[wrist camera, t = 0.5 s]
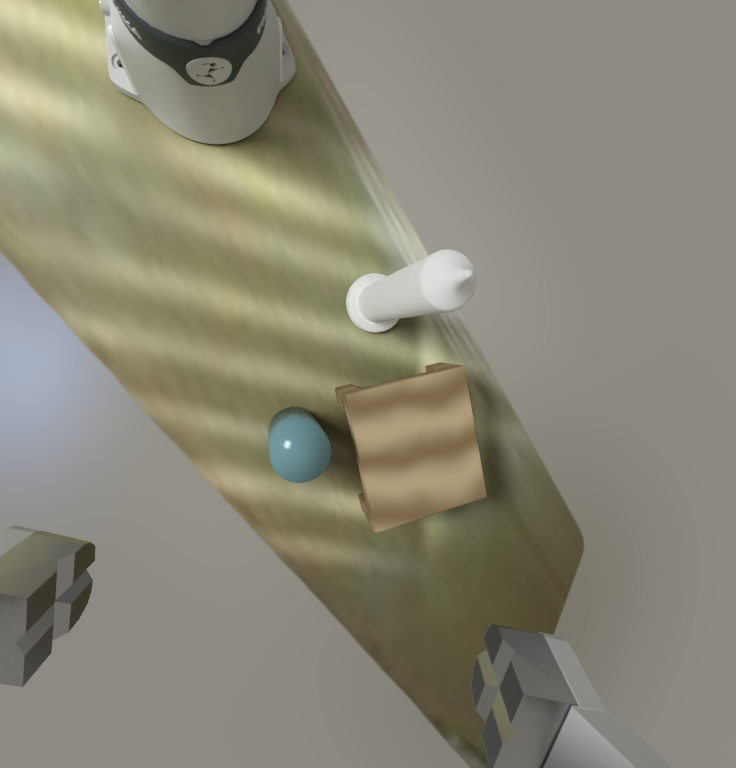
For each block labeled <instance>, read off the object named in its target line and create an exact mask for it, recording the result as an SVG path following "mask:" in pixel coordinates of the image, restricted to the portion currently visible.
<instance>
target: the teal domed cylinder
mask: <svg viewBox="0 0 736 768" xmlns="http://www.w3.org/2000/svg"><path fill="white" fill-rule="evenodd" d="M268 436H269V451H270V461H271V464H272V466H273V468H274V470H275V471H276V473H277V474H278V475H279V476H281V477H282V478H284V479H285V480H288V481H290V482H295V483H303V482H308V481H311V480H313V479H315V478H317V477H318V476H320V475H321V474H322V473H323V472H324V471H325V469H326V468H327V466H328V464H329V462H330V458H331V444H330V441H329V439H328V437H327V436H326V434H325V432H324V431H323V429H322V428H321V426H320V425H319V423H318V422H317V420H316V419H315V417H314V416H313V415H312V414H311V413H310V412H309V411H307V410H305V409H303V408H299V407H290V408H286V409H283V410H281V411H280V412H278V413H277V414H276V415H275V416H274V417H273V419H272V420H271V422H270V425H269V429H268Z"/></svg>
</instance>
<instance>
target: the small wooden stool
mask: <svg viewBox="0 0 736 768" xmlns="http://www.w3.org/2000/svg"><path fill="white" fill-rule="evenodd" d="M425 367H426V373H422V374H418V375H414V376H409V377H405V378H401V379H397V380H393V381H389V382H385V383H381V384H377V385H373V386H369V387H365V388H361V389H359V388H357V387H355V386H353V385H351V384H349V385H345V386H341V387H337V388H335V391H336V396H337V400H338V404H339V405H340V406H341V407H343V408H344V409H345V410H346V413H347V417H348V422H349V426H350V431H351V435H352V440H353V445H354V449H355V454H356V458H357V463H358V467H359V472H360V477H361V481H362V486H363V490H364V493H361V494H358V495H359V500H360V504H361V509H362V511H363V512H364V514H365V516H366V517H367V519H368V521H369V522H370V524H371V526H372V528H373V529H374V531H375V533H377V532H380V531H383V530H386V529H389V528H392V527H395V526H399V525H402V524H405V523H408V522H411V521H414V520H417V519H420V518H423V517H426V516H430V515H433V514H436V513H439V512H442V511H445V510H448V509H451V508H454V507H457V506H461V505H464V504H467V503H470V502H473V501H476V500H479V499H482V498H485V497H487V494H486V489H485V483H484V477H483V471H482V465H481V460H480V454H479V448H478V442H477V436H476V431H475V425H474V419H473V413H472V407H471V402H470V396H469V390H468V384H467V378H466V373H465V367H464V366H461V365H453V364H446V363H436V364H432V365H428V366H425Z"/></svg>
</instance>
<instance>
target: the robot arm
mask: <svg viewBox="0 0 736 768" xmlns="http://www.w3.org/2000/svg"><path fill="white" fill-rule="evenodd" d="M99 2H100V6H101V10H102V13H103V14H104V15H105V26H106V39H107V52H108V66H109V75H110V78H111V81H112V83H113V85H114V86H115V88H116V89H118V90H119V91H120V92H122V93H123V94H125V95H127V96H129V97H131V98H133V99H135V100H137V101H139V102H141V103H143V104H144V105H145V106H146V107H148V108H149V109H150V110H151V111H152V112H153V113H154V114H155V115H156V116H157V117H158V119H159V120H161V121H162V122H163V123H164V124H165V125H166V126H168V127H169V128H170V129H172V130H173V131H175V132H177V133H178V134H180V135H182V136H184V137H186V138H189V139H191V140H194V141H198V142H202V143H208V144H226V143H232V142H236V141H239V140H241V139H244V138H246V137H248V136H249V135H251V134H252V133H254V132H255V131H256V130H257V129H258V128H260V126H261V125H262V124H263V123H264V122H265V121H266V119H267V118H268V116H269V114H270V112H271V110H272V108H273V105H274V103H275V100H276V97H277V95H278V93H279V91H280V90H281V89H282V88H283V87H284V86H286V85H287V84H288V83H289V82H290V81H291V79H292V78H293V77H294V75H295V72H296V63H295V59H294V56H293V54H292V51H291V49H290V46H289V44H288V41H287V39H286V36H285V34H284V31H283V29H282V23H281V19H280V18H279V17H278V16H277V13H276V11H275V8H274V6H273V3H272V1H271V0H99ZM282 53H283V55H284V56H282ZM120 64H122V66H123V68H121V67H119V65H120ZM94 560H95V545H93V544H92V543H91V542H88V541H83V540H79V539H75V538H71V537H66V536H62V535H58V534H53V533H49V532H44V531H38V530H33V529H29V528H25V527H19V526H16V525H15V526H11V527H6V528H5V529H3V530H2V531H0V684H6V685H14V686H21V687H23V686H24V685H25V684H26V682H27V681H28V680H29V679H30V678H31V676H32V675H33V674H34V673H35V672H36V671H37V669H38V668H39V667H40V666H41V664H42V663H43V662H44V661H45V660H46V659H47V657H48V656H49V655H50V654H51V650H52V640H54V639H56V638H58V637H60V636H62V635H64V634H66V633H68V632H69V631H70V630H71V628H72V627H73V626H74V625H75V624H76V622H77V621H78V620H79V618H80V616H81V615H82V613H83V611H84V609H85V607H86V605H87V603H88V600H89V597H90V594H91V589H92V581H93V580H92V578H91V576H90V575H89V573H88V572H87V570H86V569H87V568H88V567H89V566H90V565H91V564H92V563H93V562H94ZM484 641H485V645H486V648H487V649H486V650H485V651H483V652H482V653H480V654H479V655H478V656H477V658H476V661H475V664H474V667H473V672H472V684H471V685H472V696H473V701H474V705H475V709H476V711H477V712H478V713H479V714H480V716H481V717H482V718H483V719H484V721H485V722H486V723H485V726H484V728H483V731H482V737H483V741H484V745H485V749H486V753H487V757H488V761H489V765H490V768H673V767H672V766H671V765H670V764H669V763H668V762H667V761H666V760H664V758H662V757H661V756H660V755H659V754H658V753H657V752H656V751H655V750H654V749H652V747H650V746H649V745H648V744H647V743H646V742H645V741H644V740H643V739H642V738H640V737H639V736H638V735H637V734H636V733H635V732H634V731H633V730H632V729H631V728H630V727H628V726H627V725H626V724H625V723H624V722H623V721H622V720H621V719H620V718H619V717H618V716H616V715H615V714H614V713H609V712H606V710H605V708H604V706H603V704H602V703H601V701H600V699H599V697H598V696H597V694H596V692H595V690H594V688H593V686H592V685H591V683H590V681H589V679H588V677H587V675H586V674H585V672H584V670H583V668H582V666H581V665H580V663H579V661H578V659H577V657H576V656H575V654H574V652H573V650H572V648H571V647H570V645H569V643H568V641H567V640H565V639H564V638H563V637H562V636H557V635H552V634H546V633H541V632H538V633H536V632H532V631H527V630H522V629H517V628H512V627H507V626H502V625H496V624H491V625H490V627H489V628H488V629H487V631H486V634H485V636H484Z"/></svg>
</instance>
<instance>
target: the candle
mask: <svg viewBox="0 0 736 768" xmlns="http://www.w3.org/2000/svg"><path fill="white" fill-rule="evenodd" d="M475 286H476V274H475V270H474V268H473V265H472V264H471V262H470V261H469V260H468V258H467V257H466V256H464V255H463V254H462V253H460V252H458V251H455V250H448V249H445V250H440V251H437V252H435V253H433V254H431V255H429V256H427V257H425V258H423V259H421V260H419V261H417V262H415V263H413V264H411V265H409V266H407V267H405V268H403V269H401V270H399V271H397V272H395V273H393V274H391V275H389V276H385V275H382V274H377V273H372V274H367V275H364V276H362V277H360V278H359V279H357V280H356V281H355V282H354V283H353V284H352V286H351V287H350V289H349V291H348V294H347V298H346V307H347V312H348V314H349V317H350V318H351V320H352V321H353V323H354V324H355V325H356V326H357V327H359V328H360V329H362V330H364V331H367V332H372V333H378V332H383V331H386V330H388V329H390V328H391V327H393V326H394V325H395V324H396V323H397V321H398V320H399V319H401V318H408V317H415V316H422V315H428V314H435V313H442V312H449V311H454V310H457V309H460V308H461V307H463V306H464V305H465V304H466V303H467V302H468V301H469V300H470V299H471V297H472V295H473V293H474V290H475Z"/></svg>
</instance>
